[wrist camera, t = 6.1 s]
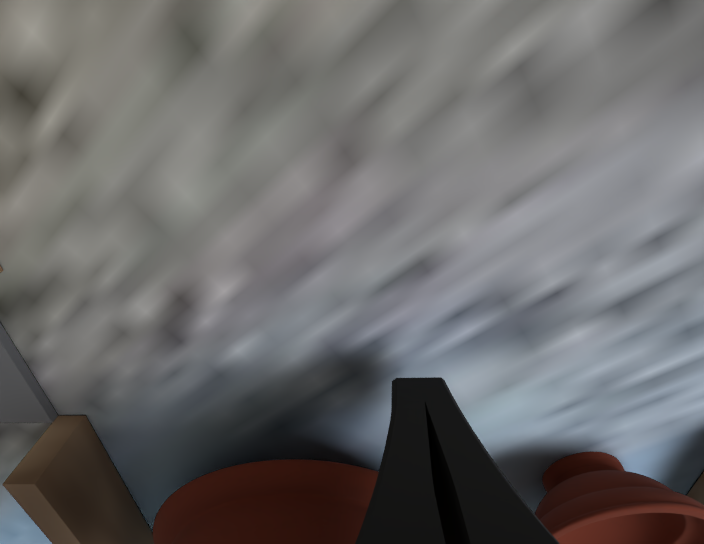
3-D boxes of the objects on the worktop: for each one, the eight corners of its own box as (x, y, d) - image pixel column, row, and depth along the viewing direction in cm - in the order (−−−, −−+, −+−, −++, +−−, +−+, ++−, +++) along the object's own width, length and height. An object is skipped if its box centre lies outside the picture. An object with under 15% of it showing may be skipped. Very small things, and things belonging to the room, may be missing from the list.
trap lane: (1260, -204, 6) (1952, -395, 3) (629, 600, 21) (667, 679, 18) (-279, -127, 7) (-681, -234, 4) (170, 596, 21) (144, 672, 19)
